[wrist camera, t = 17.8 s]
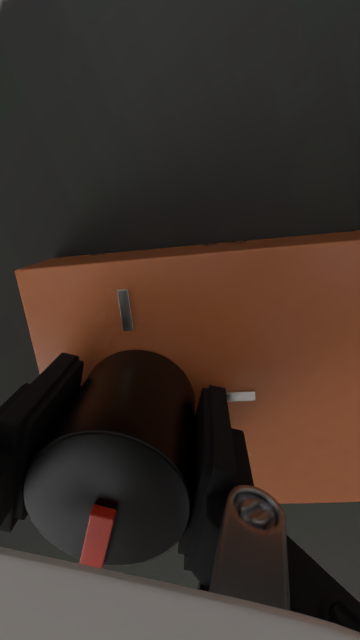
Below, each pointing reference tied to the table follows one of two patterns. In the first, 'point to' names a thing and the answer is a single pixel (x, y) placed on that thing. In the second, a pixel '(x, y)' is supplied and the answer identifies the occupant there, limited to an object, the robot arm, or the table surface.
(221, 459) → the robot arm
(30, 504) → the stove knob
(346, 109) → the table surface
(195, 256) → the knob base block
